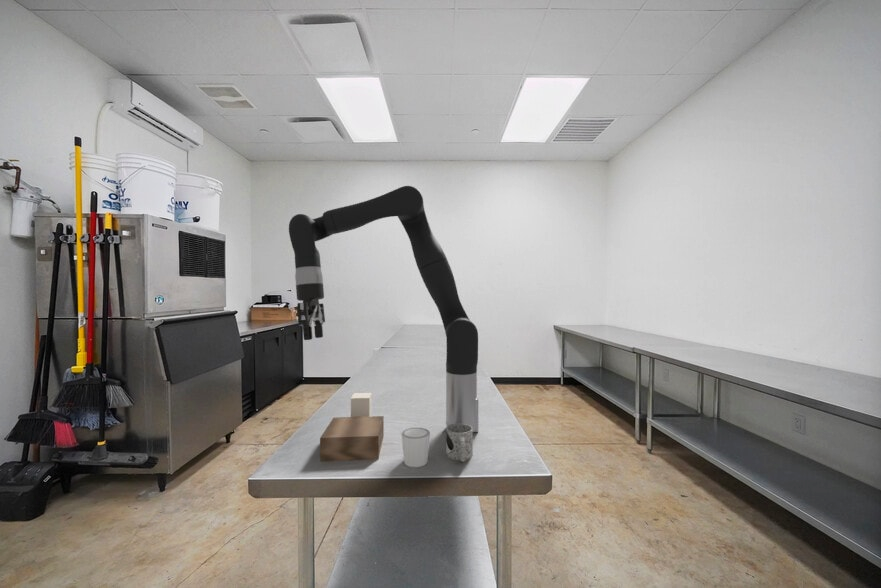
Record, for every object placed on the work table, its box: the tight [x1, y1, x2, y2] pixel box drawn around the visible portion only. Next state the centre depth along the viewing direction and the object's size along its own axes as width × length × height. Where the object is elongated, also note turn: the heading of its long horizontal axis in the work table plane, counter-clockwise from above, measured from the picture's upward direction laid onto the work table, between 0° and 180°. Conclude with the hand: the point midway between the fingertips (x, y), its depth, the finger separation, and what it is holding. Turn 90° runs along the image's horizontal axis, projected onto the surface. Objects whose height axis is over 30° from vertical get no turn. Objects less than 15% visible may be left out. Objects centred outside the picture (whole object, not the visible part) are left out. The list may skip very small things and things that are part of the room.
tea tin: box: [350, 392, 373, 417], centre depth 104 cm, size 5×5×10 cm
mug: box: [445, 423, 474, 463], centre depth 85 cm, size 10×7×7 cm, turn 4°
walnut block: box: [319, 415, 385, 462], centre depth 91 cm, size 14×14×6 cm
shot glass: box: [401, 427, 431, 468], centre depth 83 cm, size 7×7×7 cm
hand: (313, 338), depth 100 cm, fingers open, 8 cm apart
